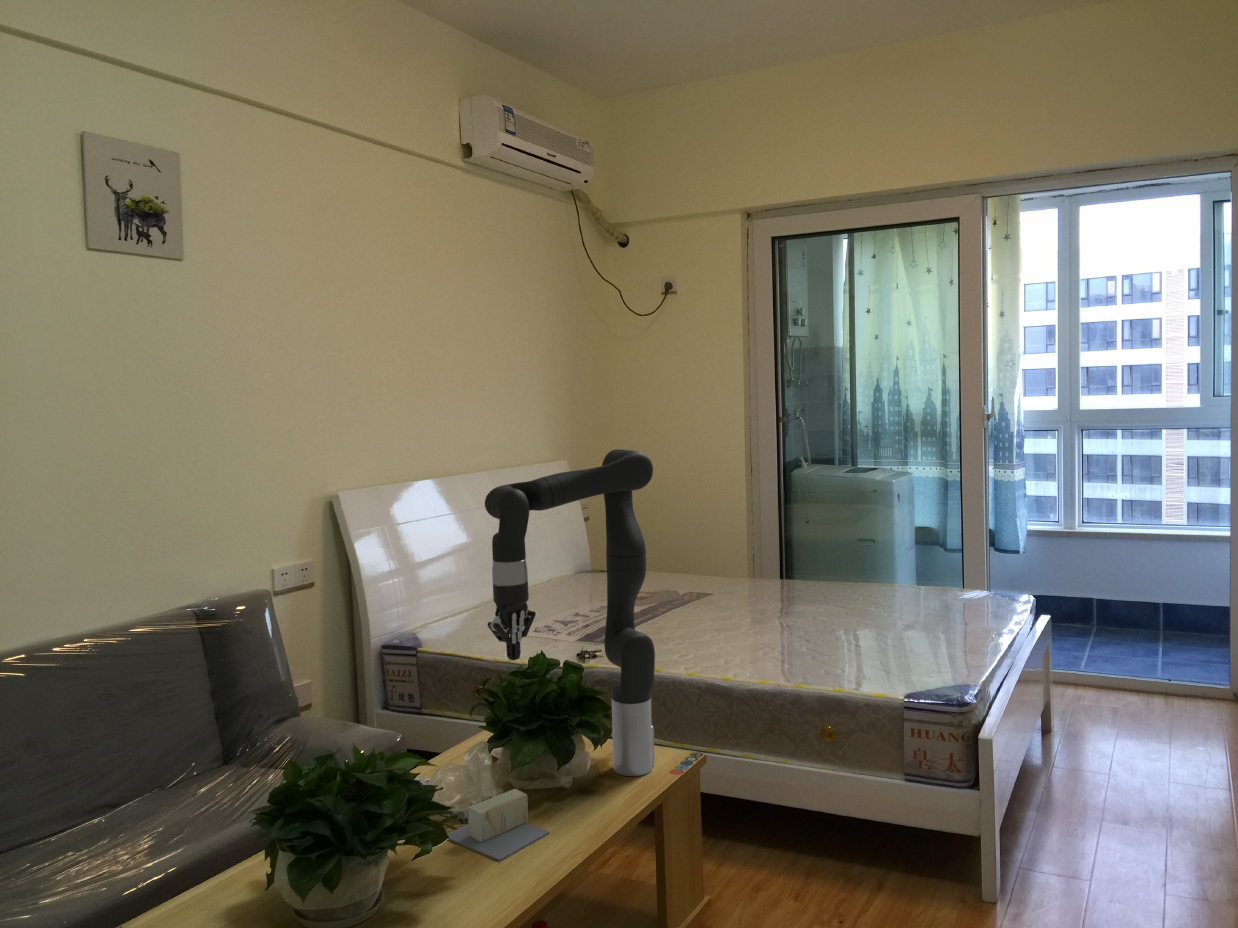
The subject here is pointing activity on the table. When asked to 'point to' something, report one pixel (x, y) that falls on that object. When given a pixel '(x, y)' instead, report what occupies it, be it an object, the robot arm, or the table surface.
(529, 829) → the slate mat
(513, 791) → the skincare box
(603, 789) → the table surface
